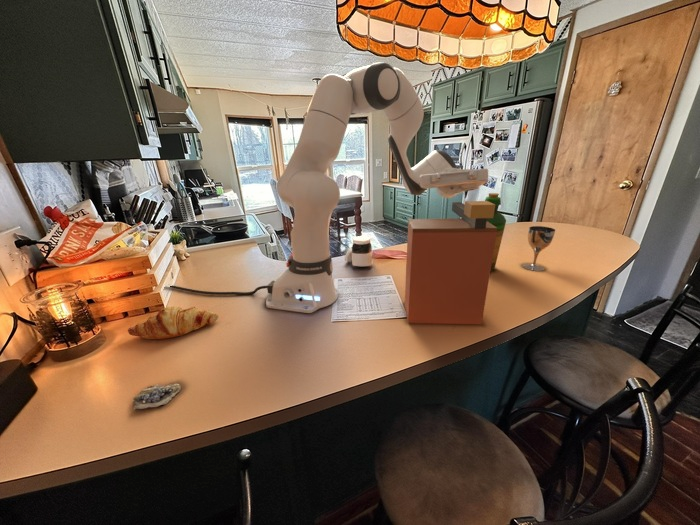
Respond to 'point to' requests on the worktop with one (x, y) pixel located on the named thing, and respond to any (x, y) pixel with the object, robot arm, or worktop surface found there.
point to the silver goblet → (539, 243)
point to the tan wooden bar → (474, 212)
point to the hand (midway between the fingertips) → (454, 174)
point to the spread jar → (360, 253)
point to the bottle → (496, 225)
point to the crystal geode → (156, 396)
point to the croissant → (172, 323)
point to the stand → (447, 270)
